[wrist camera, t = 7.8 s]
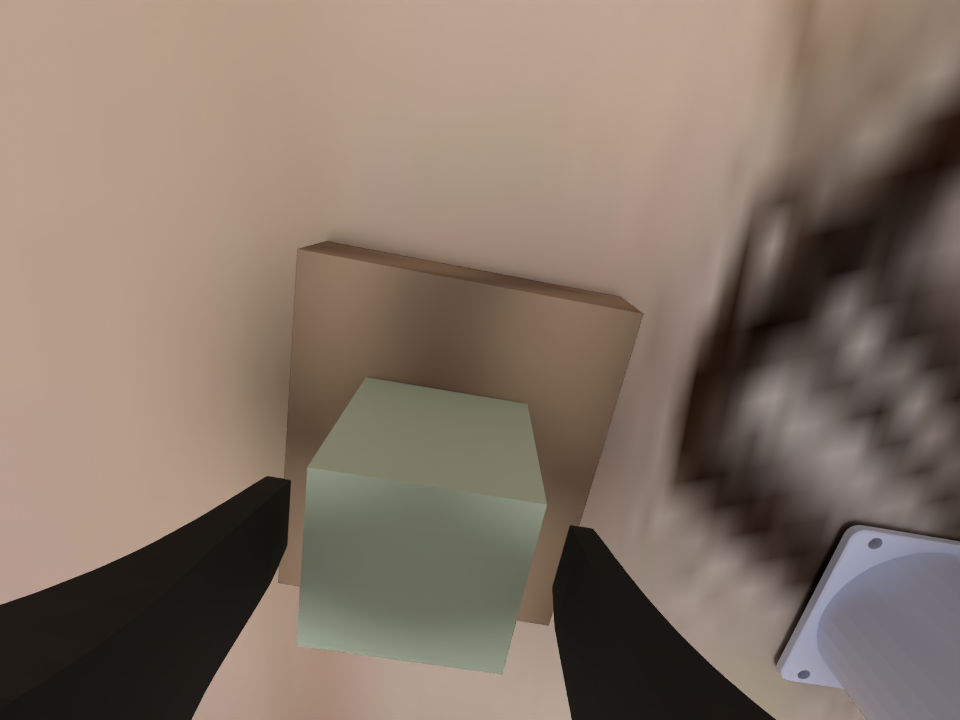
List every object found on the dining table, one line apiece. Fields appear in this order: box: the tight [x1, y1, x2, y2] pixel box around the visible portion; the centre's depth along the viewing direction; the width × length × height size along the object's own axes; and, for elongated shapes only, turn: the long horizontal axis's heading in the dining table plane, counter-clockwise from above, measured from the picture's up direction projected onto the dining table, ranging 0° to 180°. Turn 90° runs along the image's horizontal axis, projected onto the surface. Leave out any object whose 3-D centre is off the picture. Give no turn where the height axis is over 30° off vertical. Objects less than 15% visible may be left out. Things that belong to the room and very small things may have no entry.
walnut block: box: [278, 241, 643, 625], centre depth 17 cm, size 10×12×3 cm
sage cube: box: [296, 377, 547, 674], centre depth 13 cm, size 5×5×5 cm
